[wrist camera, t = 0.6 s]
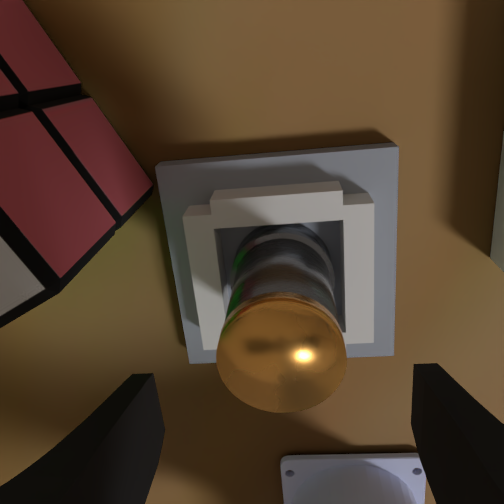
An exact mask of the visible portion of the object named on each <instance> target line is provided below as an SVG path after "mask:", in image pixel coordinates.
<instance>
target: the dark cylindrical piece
mask: <svg viewBox="0 0 504 504" xmlns="http://www.w3.org/2000/svg"><path fill="white" fill-rule="evenodd" d="M230 286H231V296H230V300H229V305H228V309H227V313H226V318H225V322H224V324H223V327H222V329H221V333H220V337H219V342H218V346H217V351H216V364H217V368H218V372H219V374H220V377H221V379H222V381H223V382H224V384H225V385H226V387H227V388H228V389H229V390H230V391H231V392H232V393H233V395H235V396H236V397H237V398H238V399H240V400H241V401H243V402H244V403H246V404H248V405H250V406H252V407H255V408H258V409H260V410H264V411H269V412H276V413H290V412H297V411H302V410H305V409H309V408H311V407H313V406H316V405H318V404H319V403H321V402H323V401H324V400H325V399H327V398H328V397H329V396H330V395H331V394H332V393H333V392H334V391H335V390H336V389H337V388H338V386H339V385H340V383H341V381H342V379H343V377H344V374H345V371H346V366H347V354H346V348H345V343H344V338H343V334H342V330H341V328H340V326H339V320H338V315H337V310H336V305H335V300H334V295H333V292H334V287H335V275H334V270H333V265H332V261H331V256H330V253H329V250H328V248H327V246H326V244H325V243H324V241H323V240H322V239H321V238H320V237H319V236H318V235H317V234H316V233H315V232H314V231H312V230H311V229H309V228H307V227H305V226H303V225H300V224H297V223H292V224H277V225H262V226H260V227H258V228H256V229H254V230H253V231H251V232H250V233H249V234H248V235H247V236H246V237H245V238H244V239H243V240H242V242H241V243H240V245H239V247H238V249H237V251H236V254H235V258H234V262H233V266H232V270H231V275H230Z"/></svg>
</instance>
